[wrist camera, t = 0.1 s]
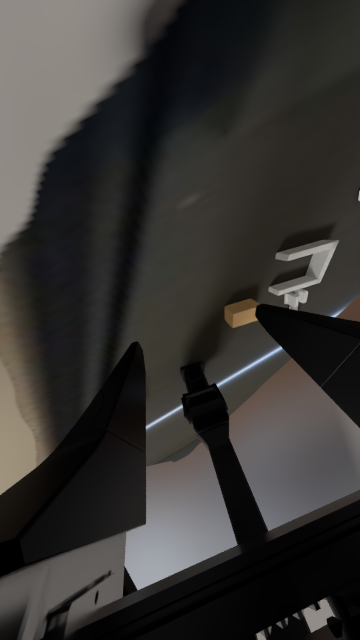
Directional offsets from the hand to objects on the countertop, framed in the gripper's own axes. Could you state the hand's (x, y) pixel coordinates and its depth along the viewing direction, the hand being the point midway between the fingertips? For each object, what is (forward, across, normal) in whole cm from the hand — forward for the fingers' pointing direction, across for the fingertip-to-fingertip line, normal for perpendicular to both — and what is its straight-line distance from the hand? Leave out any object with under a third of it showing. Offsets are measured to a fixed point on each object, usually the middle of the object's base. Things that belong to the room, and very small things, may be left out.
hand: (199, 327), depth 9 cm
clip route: (+15, -27, +15) cm, 34 cm away
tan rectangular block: (+15, -13, +11) cm, 23 cm away
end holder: (+15, -24, +5) cm, 29 cm away
